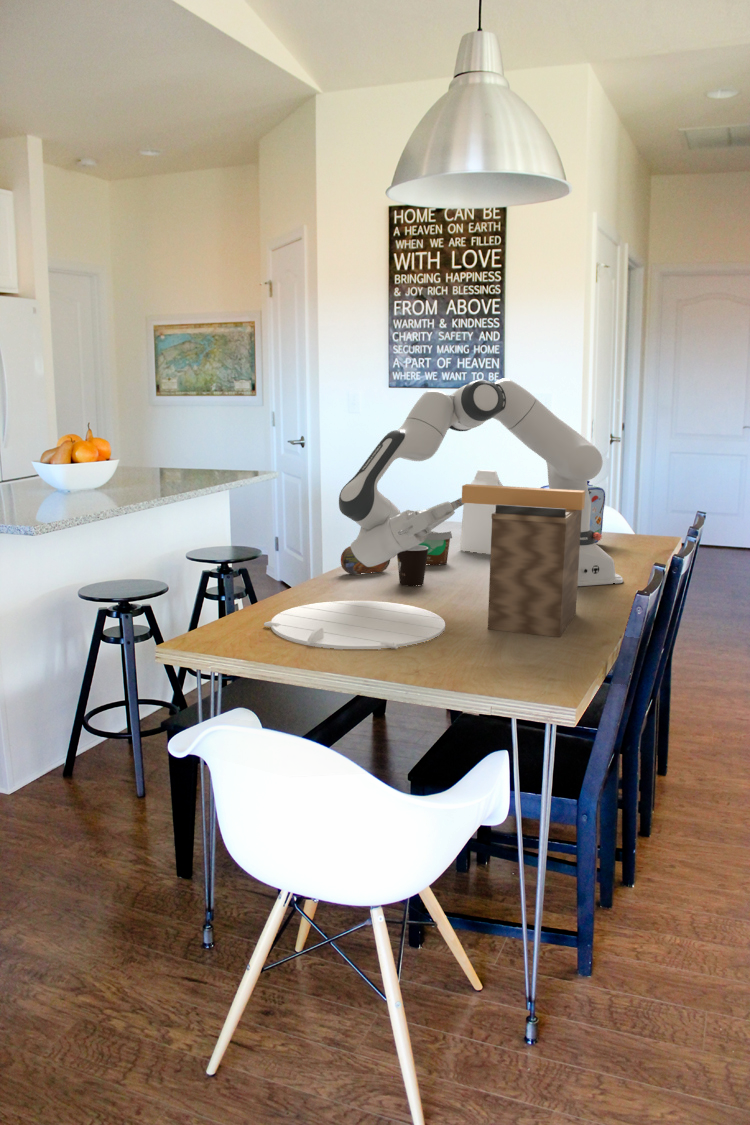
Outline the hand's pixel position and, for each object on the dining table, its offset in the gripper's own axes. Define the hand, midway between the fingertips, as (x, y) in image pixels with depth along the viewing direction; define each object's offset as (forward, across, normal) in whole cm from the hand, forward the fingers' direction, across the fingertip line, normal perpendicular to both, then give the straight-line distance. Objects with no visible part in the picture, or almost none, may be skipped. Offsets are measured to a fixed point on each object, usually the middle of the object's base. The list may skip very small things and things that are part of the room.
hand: (457, 503), depth 219 cm
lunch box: (-4, +98, +28) cm, 103 cm away
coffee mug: (-29, +22, +13) cm, 38 cm away
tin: (-43, +28, +5) cm, 52 cm away
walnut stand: (+5, -6, +32) cm, 33 cm away
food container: (-32, +48, +11) cm, 59 cm away
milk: (-24, +78, +16) cm, 83 cm away
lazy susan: (-26, -25, +15) cm, 40 cm away
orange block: (+14, 0, +8) cm, 16 cm away
